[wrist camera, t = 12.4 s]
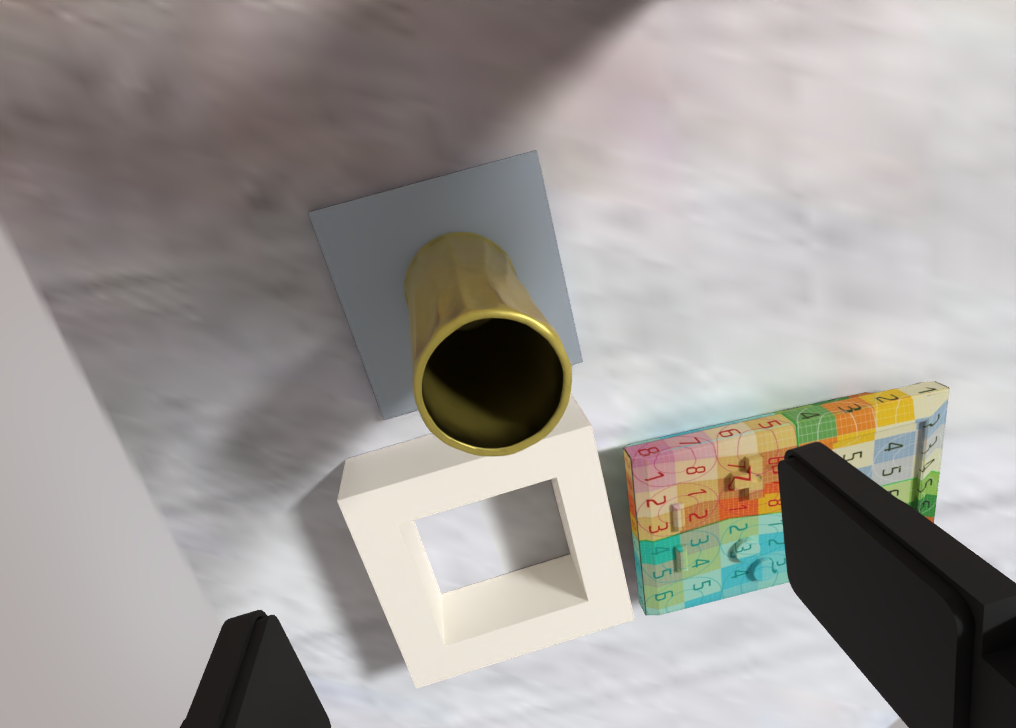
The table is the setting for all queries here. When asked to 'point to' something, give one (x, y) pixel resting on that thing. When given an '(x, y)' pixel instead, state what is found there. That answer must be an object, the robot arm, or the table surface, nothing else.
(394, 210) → the mat
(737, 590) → the puzzle game
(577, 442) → the well board
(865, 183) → the table surface
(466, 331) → the vase
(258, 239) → the table surface
